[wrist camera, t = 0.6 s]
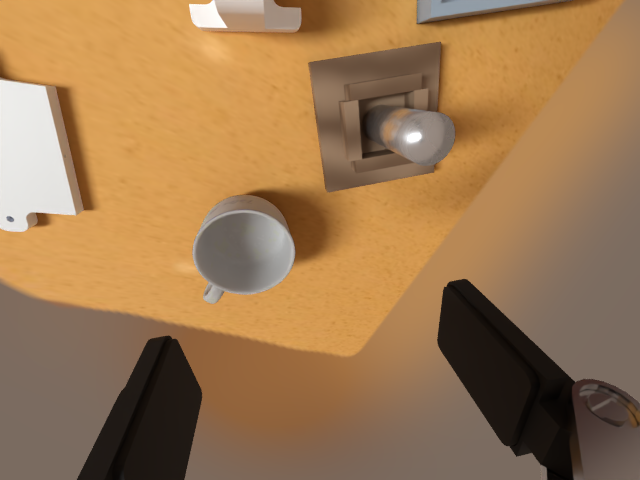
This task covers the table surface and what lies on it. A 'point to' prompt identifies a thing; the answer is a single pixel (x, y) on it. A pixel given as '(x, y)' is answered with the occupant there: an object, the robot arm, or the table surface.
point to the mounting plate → (34, 156)
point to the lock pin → (410, 132)
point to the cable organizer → (245, 16)
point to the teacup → (243, 247)
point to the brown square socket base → (357, 98)
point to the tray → (469, 7)
